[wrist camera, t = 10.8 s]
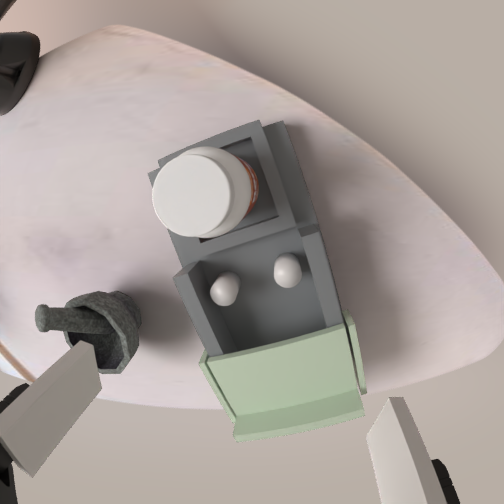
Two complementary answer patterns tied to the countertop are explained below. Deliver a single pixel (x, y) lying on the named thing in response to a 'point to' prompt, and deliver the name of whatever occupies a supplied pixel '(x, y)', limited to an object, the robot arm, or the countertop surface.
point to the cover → (290, 383)
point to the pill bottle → (204, 192)
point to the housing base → (259, 255)
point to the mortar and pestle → (97, 326)
